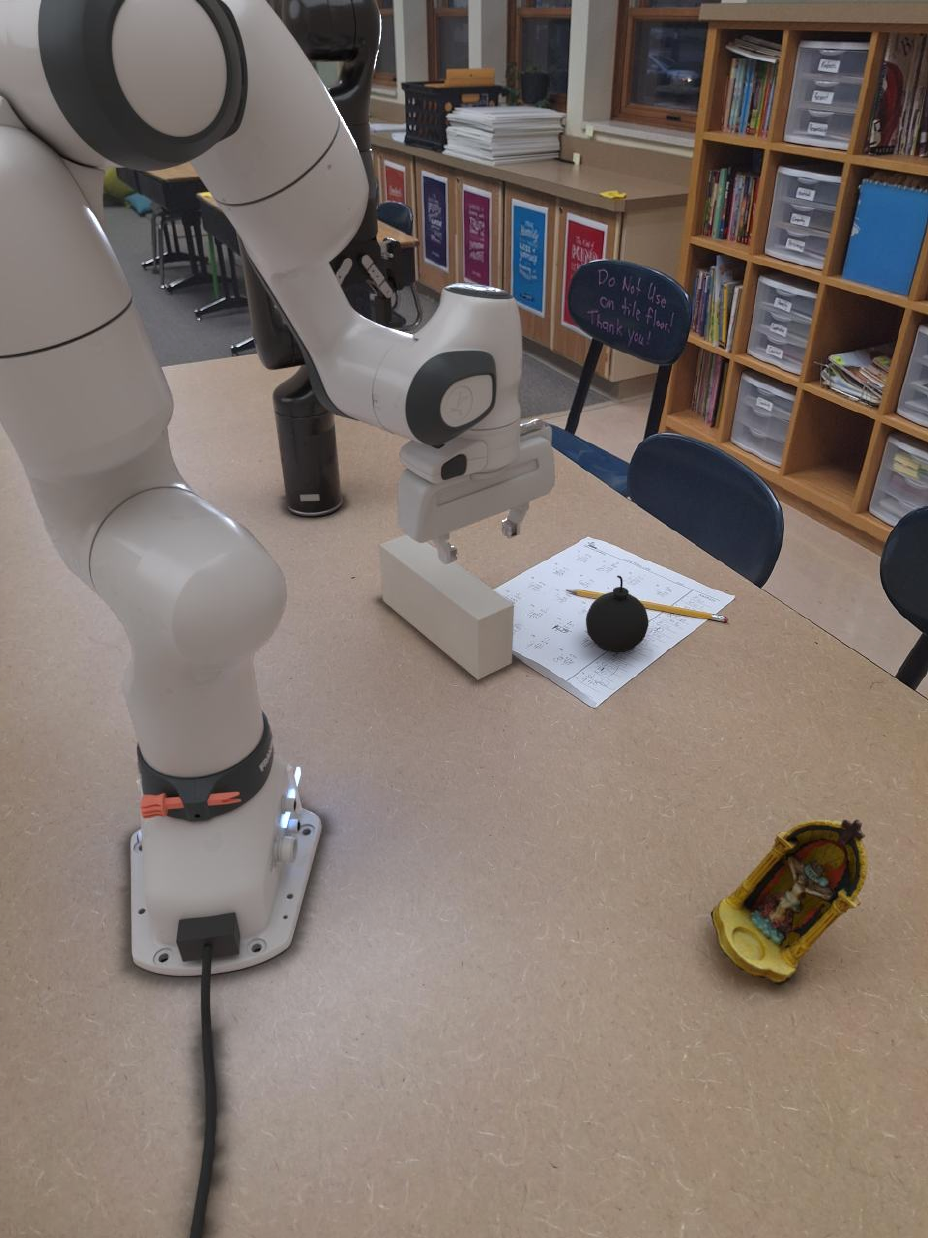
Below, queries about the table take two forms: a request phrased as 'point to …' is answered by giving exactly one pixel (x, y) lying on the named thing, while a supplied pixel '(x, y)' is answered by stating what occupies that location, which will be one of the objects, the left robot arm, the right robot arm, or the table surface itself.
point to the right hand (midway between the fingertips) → (354, 332)
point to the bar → (448, 605)
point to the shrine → (792, 897)
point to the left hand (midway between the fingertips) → (479, 547)
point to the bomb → (617, 621)
